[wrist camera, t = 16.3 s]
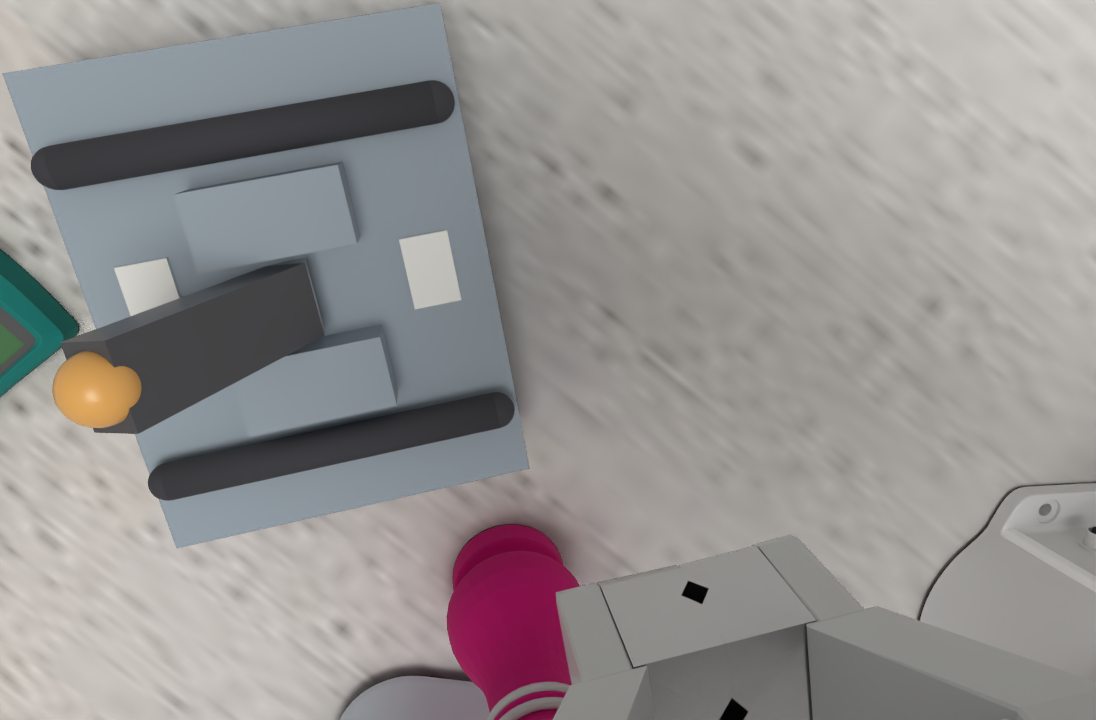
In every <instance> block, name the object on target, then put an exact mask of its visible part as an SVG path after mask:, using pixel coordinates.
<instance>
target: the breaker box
mask: <svg viewBox="0 0 1096 720" xmlns="http://www.w3.org/2000/svg"><path fill="white" fill-rule="evenodd" d="M2 74H3V77H4V79H5V82H6V85H7V87H8V90H9V93H10V96H11V98H12V101H13V104H14V107H15V109H16V112H17V115H18V117H19V120H20V123H21V126H22V128H23V131H24V134H25V137H26V139H27V142H28V145H29V147H30V150H31V153H32V156H34V154H35V153H36V152H37V151H38V150H39V149H41V148H43V147H46V146H50V145H56V144H62V143H68V142H73V141H79V140H85V139H91V138H97V137H103V136H108V135H114V134H120V133H126V132H132V131H138V130H143V129H149V128H155V127H161V126H167V125H173V124H178V123H184V122H190V121H196V120H202V119H208V118H213V117H219V116H225V115H231V114H237V113H243V112H248V111H254V110H260V109H266V108H272V107H277V106H283V105H289V104H295V103H301V102H307V101H312V100H318V99H324V98H330V97H336V96H342V95H347V94H353V93H359V92H365V91H371V90H377V89H382V88H388V87H394V86H400V85H406V84H412V83H417V82H423V81H429V80H436V81H440V82H442V83H444V84H446V85H447V86H448V87H449V88H450V90H451V91H452V93H453V95H454V100H455V107H454V110H453V113H452V115H451V116H450V117H449V118H448V119H447V120H446V121H444V122H442V123H438V124H433V125H427V126H421V127H416V128H410V129H405V130H399V131H393V132H388V133H382V134H376V135H371V136H365V137H360V138H354V139H348V140H343V141H337V142H331V143H326V144H320V145H314V146H309V147H303V148H298V149H292V150H286V151H281V152H275V153H269V154H264V155H258V156H252V157H247V158H241V159H236V160H230V161H224V162H219V163H213V164H207V165H202V166H196V167H190V168H185V169H179V170H174V171H168V172H162V173H157V174H151V175H145V176H140V177H134V178H128V179H123V180H117V181H112V182H106V183H100V184H95V185H89V186H83V187H78V188H72V189H67V190H53V189H50V188H47V187H45V186H44V188H45V191H46V194H47V196H48V199H49V202H50V205H51V207H52V210H53V213H54V216H55V218H56V221H57V224H58V226H59V229H60V232H61V235H62V237H63V240H64V243H65V246H66V248H67V251H68V254H69V256H70V259H71V262H72V265H73V267H74V270H75V273H76V275H77V278H78V281H79V284H80V286H81V289H82V292H83V295H84V297H85V300H86V303H87V305H88V308H89V311H90V314H91V316H92V319H93V322H94V325H95V327H96V329H98V328H101V327H103V326H106V325H109V324H111V323H114V322H117V321H120V320H122V319H125V318H128V317H130V316H133V315H136V314H138V313H141V312H144V311H146V310H149V309H152V308H155V307H157V306H160V305H163V304H165V303H168V302H171V301H173V300H176V299H179V298H181V297H184V296H187V295H190V294H192V293H195V292H198V291H200V290H203V289H206V288H208V287H211V286H214V285H217V284H219V283H222V282H225V281H227V280H230V279H233V278H235V277H238V276H241V275H243V274H246V273H249V272H252V271H254V270H257V269H260V268H262V267H265V266H271V265H274V264H277V263H281V262H285V261H290V260H297V259H305V260H306V263H307V266H308V270H309V274H310V278H311V281H312V285H313V289H314V292H315V296H316V300H317V304H318V307H319V311H320V315H321V318H322V322H323V326H324V330H325V333H324V335H325V336H323V337H321V338H319V339H317V340H315V341H313V342H311V343H310V344H308V345H306V346H304V347H302V348H300V349H298V350H296V351H294V352H292V353H291V354H289V355H287V356H285V357H283V358H281V359H279V360H277V361H275V362H274V363H272V364H270V365H268V366H266V367H264V368H262V369H260V370H258V371H257V372H255V373H253V374H251V375H249V376H247V377H245V378H243V379H241V380H239V381H238V382H236V383H234V384H232V385H230V386H228V387H226V388H224V389H222V390H221V391H219V392H217V393H215V394H213V395H211V396H209V397H207V398H205V399H204V400H202V401H200V402H198V403H196V404H194V405H192V406H190V407H188V408H186V409H185V410H183V411H181V412H179V413H177V414H175V415H173V416H171V417H169V418H168V419H166V420H164V421H162V422H160V423H158V424H156V425H154V426H152V427H151V428H149V429H147V430H145V431H143V432H141V433H139V434H135V436H136V439H137V442H138V444H139V447H140V450H141V453H142V455H143V458H144V461H145V463H146V466H147V469H148V472H149V474H151V472H152V471H153V470H154V469H155V468H156V467H157V466H159V465H160V464H163V463H166V462H171V461H176V460H180V459H185V458H190V457H194V456H199V455H204V454H208V453H213V452H217V451H222V450H227V449H231V448H236V447H241V446H245V445H250V444H255V443H259V442H264V441H269V440H273V439H278V438H283V437H287V436H292V435H296V434H301V433H306V432H310V431H315V430H320V429H324V428H329V427H334V426H338V425H343V424H348V423H352V422H357V421H362V420H366V419H371V418H375V417H380V416H385V415H389V414H394V413H399V412H403V411H408V410H413V409H417V408H422V407H427V406H431V405H436V404H441V403H445V402H450V401H454V400H459V399H464V398H468V397H473V396H478V395H482V394H487V393H492V392H501V393H504V394H506V395H507V396H508V397H509V398H510V399H511V400H512V402H513V404H514V409H515V411H514V416H513V418H512V420H511V422H510V423H509V424H508V425H506V426H504V427H502V428H498V429H494V430H489V431H485V432H480V433H475V434H471V435H466V436H462V437H457V438H453V439H448V440H444V441H439V442H435V443H430V444H426V445H421V446H416V447H412V448H407V449H403V450H398V451H394V452H389V453H385V454H380V455H376V456H371V457H367V458H362V459H357V460H353V461H348V462H344V463H339V464H335V465H330V466H326V467H321V468H317V469H312V470H307V471H303V472H298V473H294V474H289V475H285V476H280V477H276V478H271V479H267V480H262V481H258V482H253V483H248V484H244V485H239V486H235V487H230V488H226V489H221V490H217V491H212V492H208V493H203V494H198V495H194V496H189V497H185V498H180V499H176V500H170V501H166V500H161V499H159V502H160V504H161V507H162V510H163V512H164V515H165V518H166V521H167V523H168V526H169V529H170V532H171V534H172V537H173V540H174V542H175V545H176V548H181V547H185V546H190V545H194V544H199V543H203V542H207V541H212V540H216V539H221V538H225V537H229V536H234V535H238V534H243V533H247V532H252V531H256V530H260V529H265V528H269V527H274V526H278V525H282V524H287V523H291V522H296V521H300V520H304V519H309V518H313V517H318V516H322V515H327V514H331V513H335V512H340V511H344V510H349V509H353V508H357V507H362V506H366V505H371V504H375V503H379V502H384V501H388V500H393V499H397V498H402V497H406V496H410V495H415V494H419V493H424V492H428V491H432V490H437V489H441V488H446V487H450V486H455V485H459V484H463V483H468V482H472V481H477V480H481V479H485V478H490V477H494V476H499V475H503V474H507V473H512V472H516V471H521V470H525V469H530V467H529V462H528V457H527V452H526V447H525V441H524V436H523V431H522V426H521V421H520V415H519V410H518V405H517V400H516V395H515V389H514V384H513V379H512V374H511V369H510V364H509V358H508V353H507V348H506V343H505V338H504V332H503V327H502V322H501V317H500V312H499V306H498V301H497V296H496V291H495V286H494V281H493V275H492V270H491V265H490V260H489V255H488V249H487V244H486V239H485V234H484V229H483V223H482V218H481V213H480V208H479V203H478V198H477V192H476V187H475V182H474V177H473V172H472V166H471V161H470V156H469V151H468V146H467V141H466V135H465V130H464V125H463V120H462V115H461V109H460V104H459V99H458V94H457V89H456V83H455V78H454V73H453V68H452V63H451V58H450V52H449V47H448V42H447V37H446V32H445V26H444V21H443V16H442V11H441V6H440V3H436V4H430V5H424V6H418V7H412V8H405V9H399V10H393V11H387V12H381V13H374V14H368V15H362V16H356V17H350V18H343V19H337V20H331V21H325V22H319V23H312V24H306V25H300V26H294V27H288V28H281V29H275V30H269V31H263V32H257V33H250V34H244V35H238V36H232V37H226V38H219V39H213V40H207V41H201V42H195V43H188V44H182V45H176V46H170V47H164V48H157V49H151V50H145V51H139V52H133V53H126V54H120V55H114V56H108V57H102V58H95V59H89V60H83V61H77V62H71V63H64V64H58V65H52V66H46V67H40V68H33V69H27V70H21V71H15V72H9V73H2Z"/></svg>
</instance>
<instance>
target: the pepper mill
mask: <svg viewBox="0 0 1096 720" xmlns="http://www.w3.org/2000/svg"><path fill="white" fill-rule="evenodd" d="M575 587H579V584H578V582H577V580H576V579H575V578H574V576H573V575H572V573H571V572H570V571H569V570H568V569H566V568H565V567H564V566H563V563H562V560H561V556H560V554H559V552H558V550H557V548H556V546H555V545H554V544H553V543H552V541H551V540H550V539H549V538H548V537H546V536H545V535H544V534H543V533H541V532H539V531H538V530H536V529H533V528H530V527H526V526H522V525H513V524H511V525H504V526H497V527H494V528H491V529H488V530H486V531H483V532H481V533H480V534H478V535H477V536H475V537H474V538H473V539H472V540H470V541H469V542H468V543H467V544H466V545H465V547H464V548H463V549H462V551H461V552H460V554H459V555H458V557H457V560H456V562H455V565H454V569H453V588H454V592H453V594H452V597H451V600H450V602H449V607H448V613H447V630H448V635H449V640H450V644H451V647H452V651H453V653H454V655H455V657H456V659H457V661H458V663H459V664H460V666H461V668H462V669H463V671H464V672H465V673H466V675H467V676H468V677H469V678H470V679H471V680H472V682H473V683H474V684H475V685H476V686H478V687H479V688H480V689H481V690H482V691H483V693H484V695H485V697H486V700H487V704H488V708H489V712H490V713H489V715H488V717H487V719H486V720H553V718H554V716H555V714H556V712H557V710H558V708H559V706H560V704H561V702H562V700H563V698H564V696H565V694H566V692H567V690H568V688H569V686H571V685H572V682H571V678H570V673H569V668H568V662H567V657H566V652H565V646H564V641H563V636H562V630H561V625H560V620H559V614H558V609H557V603H556V592H559V591H563V590H567V589H571V588H575Z"/></svg>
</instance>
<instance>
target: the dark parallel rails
mask: <svg viewBox="0 0 1096 720" xmlns="http://www.w3.org/2000/svg"><path fill="white" fill-rule="evenodd" d="M454 107H455V100H454V95H453V93H452V91H451V90H450V88H449V87H448V86H447V85H446V84H444V83H442V82H440V81H436V80H429V81H423V82H417V83H412V84H406V85H400V86H394V87H388V88H382V89H377V90H371V91H365V92H359V93H353V94H347V95H342V96H336V97H330V98H324V99H318V100H312V101H307V102H301V103H295V104H289V105H283V106H277V107H272V108H266V109H260V110H254V111H248V112H243V113H237V114H231V115H225V116H219V117H213V118H208V119H202V120H196V121H190V122H184V123H178V124H173V125H167V126H161V127H155V128H149V129H143V130H138V131H132V132H126V133H120V134H114V135H108V136H103V137H97V138H91V139H85V140H79V141H73V142H68V143H62V144H56V145H50V146H46V147H43V148H41V149H39V150H38V151H37V152H36V153H35V154H34V156H33V157H32V160H31V170H32V173H33V175H34V177H35V178H36V179H37V181H38V182H39V183H41V184H42V185H43V186H45V187H47V188H50V189H53V190H67V189H72V188H78V187H83V186H89V185H95V184H100V183H106V182H112V181H117V180H123V179H128V178H134V177H140V176H145V175H151V174H157V173H162V172H168V171H174V170H179V169H185V168H190V167H196V166H202V165H207V164H213V163H219V162H224V161H230V160H236V159H241V158H247V157H252V156H258V155H264V154H269V153H275V152H281V151H286V150H292V149H298V148H303V147H309V146H314V145H320V144H326V143H331V142H337V141H343V140H348V139H354V138H360V137H365V136H371V135H376V134H382V133H388V132H393V131H399V130H405V129H410V128H416V127H421V126H427V125H433V124H438V123H442V122H444V121H446V120H447V119H448V118H449V117H450V116H451V115H452V113H453V110H454ZM514 411H515V409H514V404H513V402H512V400H511V399H510V398H509V397H508V396H507V395H506V394H504V393H501V392H492V393H487V394H482V395H478V396H473V397H468V398H464V399H459V400H454V401H450V402H445V403H441V404H436V405H431V406H427V407H422V408H417V409H413V410H408V411H403V412H399V413H394V414H389V415H385V416H380V417H375V418H371V419H366V420H362V421H357V422H352V423H348V424H343V425H338V426H334V427H329V428H324V429H320V430H315V431H310V432H306V433H301V434H296V435H292V436H287V437H283V438H278V439H273V440H269V441H264V442H259V443H255V444H250V445H245V446H241V447H236V448H231V449H227V450H222V451H217V452H213V453H208V454H204V455H199V456H194V457H190V458H185V459H180V460H176V461H171V462H166V463H163V464H160V465H159V466H157V467H156V468H155V469H154V470H153V471H152V472H151V474H150V476H149V479H148V487H149V490H150V491H151V493H152V494H153V495H154V496H155V497H157V498H158V499H161V500H166V501H170V500H176V499H180V498H185V497H189V496H194V495H198V494H203V493H208V492H212V491H217V490H221V489H226V488H230V487H235V486H239V485H244V484H248V483H253V482H258V481H262V480H267V479H271V478H276V477H280V476H285V475H289V474H294V473H298V472H303V471H307V470H312V469H317V468H321V467H326V466H330V465H335V464H339V463H344V462H348V461H353V460H357V459H362V458H367V457H371V456H376V455H380V454H385V453H389V452H394V451H398V450H403V449H407V448H412V447H416V446H421V445H426V444H430V443H435V442H439V441H444V440H448V439H453V438H457V437H462V436H466V435H471V434H475V433H480V432H485V431H489V430H494V429H498V428H502V427H504V426H506V425H508V424H509V423H510V422H511V420H512V418H513V416H514Z"/></svg>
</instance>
